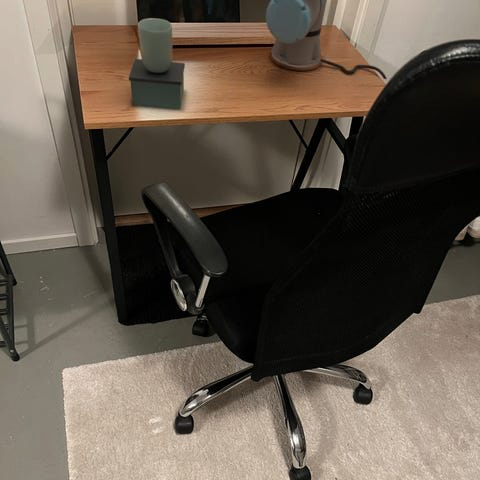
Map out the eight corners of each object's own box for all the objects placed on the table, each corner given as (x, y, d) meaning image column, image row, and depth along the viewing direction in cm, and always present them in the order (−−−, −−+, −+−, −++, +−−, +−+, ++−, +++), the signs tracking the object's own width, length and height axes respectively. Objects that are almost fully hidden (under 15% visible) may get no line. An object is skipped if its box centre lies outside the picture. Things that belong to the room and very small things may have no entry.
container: (185, 90, 124) (184, 63, 118) (181, 110, 117) (181, 82, 112) (137, 86, 123) (135, 58, 117) (131, 105, 116) (128, 77, 111)
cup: (174, 77, 113) (173, 31, 105) (141, 76, 112) (138, 30, 104) (172, 63, 117) (171, 18, 110) (141, 62, 116) (137, 17, 108)
